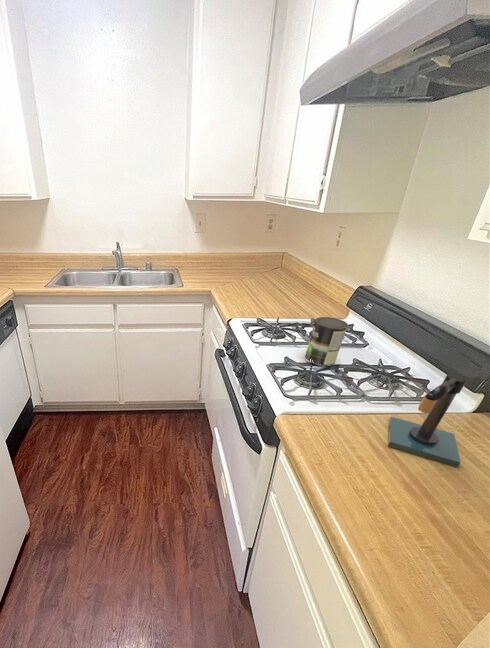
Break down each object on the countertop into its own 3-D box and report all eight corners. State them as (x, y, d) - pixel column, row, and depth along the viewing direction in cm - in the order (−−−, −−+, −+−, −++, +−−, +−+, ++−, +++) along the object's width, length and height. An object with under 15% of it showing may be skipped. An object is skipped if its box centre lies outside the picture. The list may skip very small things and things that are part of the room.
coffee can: (306, 365, 118) (318, 326, 110) (302, 353, 126) (312, 315, 119) (338, 368, 117) (352, 329, 109) (331, 355, 125) (343, 318, 117)
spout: (442, 386, 79) (451, 371, 77) (460, 393, 77) (470, 378, 74) (412, 407, 71) (420, 391, 69) (431, 416, 69) (440, 399, 67)
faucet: (451, 438, 87) (483, 387, 78) (457, 467, 78) (494, 413, 70) (388, 420, 92) (412, 371, 84) (387, 446, 83) (414, 393, 75)
